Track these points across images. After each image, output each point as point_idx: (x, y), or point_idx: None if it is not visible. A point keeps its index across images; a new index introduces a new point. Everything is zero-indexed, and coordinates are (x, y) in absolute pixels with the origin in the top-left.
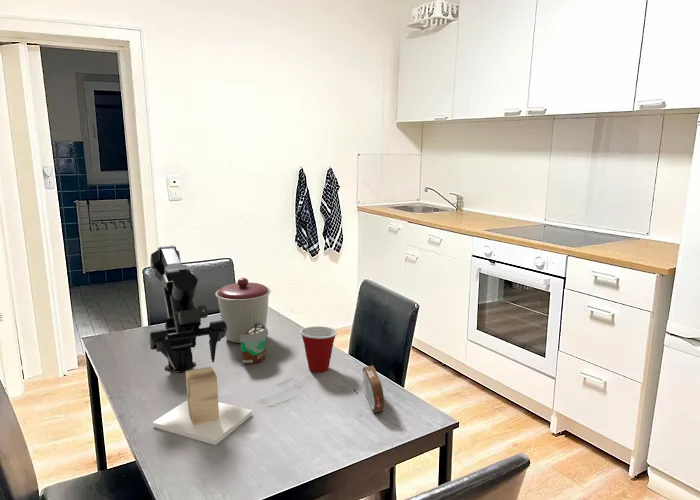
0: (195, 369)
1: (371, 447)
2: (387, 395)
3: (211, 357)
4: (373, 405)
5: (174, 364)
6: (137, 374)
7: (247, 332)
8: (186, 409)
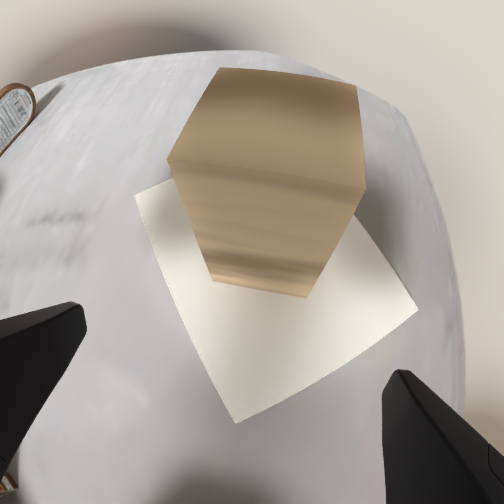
0: (289, 172)
1: (105, 69)
2: None
3: (62, 349)
4: (28, 109)
5: (418, 383)
6: None
7: None
8: (303, 330)
